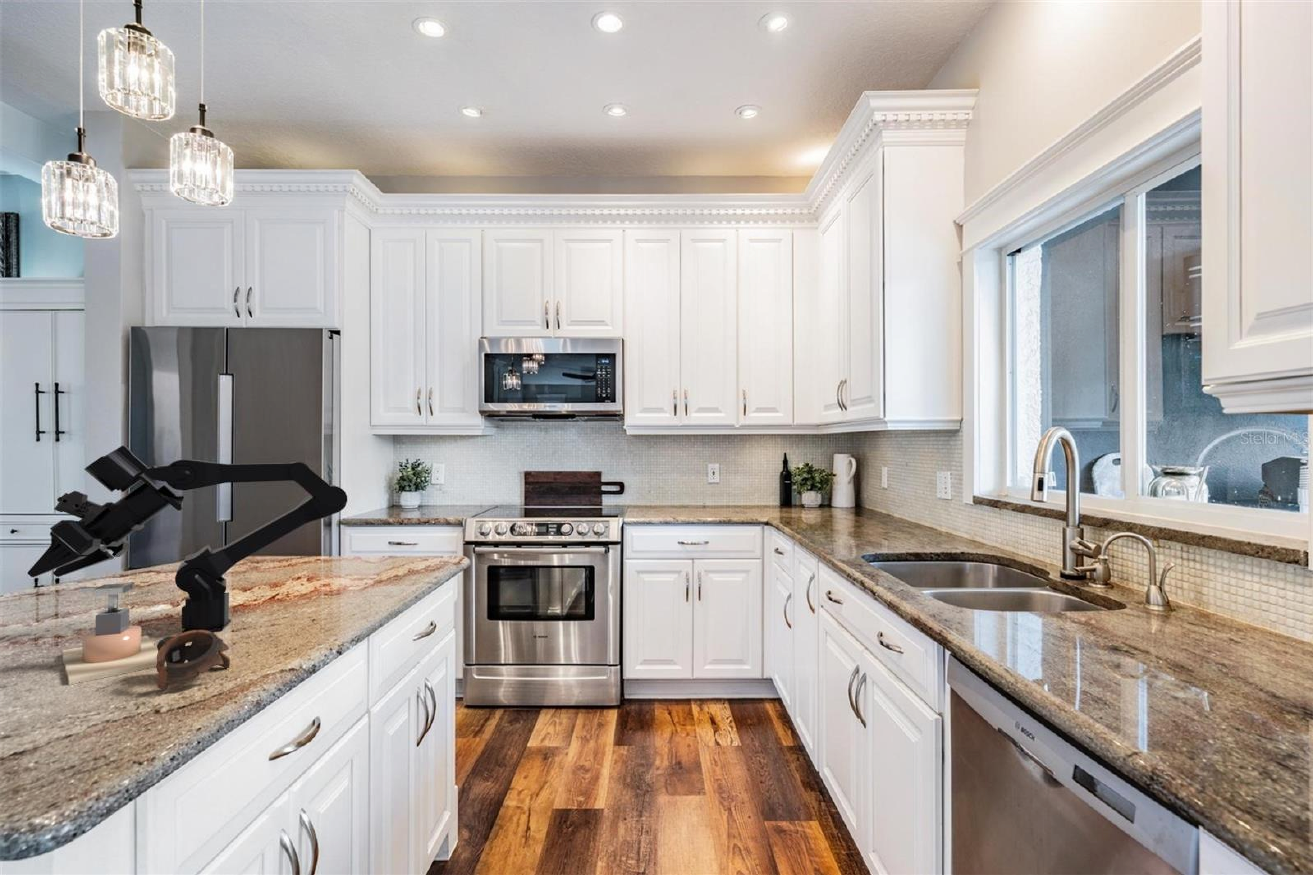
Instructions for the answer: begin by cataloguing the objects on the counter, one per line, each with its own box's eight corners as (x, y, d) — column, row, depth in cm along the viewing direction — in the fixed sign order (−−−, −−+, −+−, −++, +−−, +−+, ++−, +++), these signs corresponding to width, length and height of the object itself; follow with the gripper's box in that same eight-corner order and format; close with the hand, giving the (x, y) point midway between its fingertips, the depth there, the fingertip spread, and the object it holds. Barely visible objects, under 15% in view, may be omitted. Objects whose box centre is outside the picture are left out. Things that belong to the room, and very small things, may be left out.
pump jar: (148, 645, 104) (149, 604, 104) (130, 659, 97) (130, 615, 97) (94, 651, 101) (95, 608, 101) (72, 665, 94) (73, 620, 94)
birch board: (61, 655, 101) (61, 650, 101) (147, 640, 109) (147, 635, 109) (69, 684, 89) (69, 679, 89) (164, 665, 97) (164, 660, 97)
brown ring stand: (250, 670, 96) (240, 634, 92) (194, 720, 88) (180, 682, 84) (190, 646, 98) (177, 609, 95) (130, 692, 90) (113, 654, 86)
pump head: (132, 607, 102) (132, 582, 102) (122, 613, 98) (122, 587, 98) (85, 611, 99) (85, 585, 99) (73, 617, 96) (73, 590, 96)
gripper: (116, 485, 117) (30, 544, 110) (76, 471, 101) (-29, 539, 94) (162, 526, 119) (80, 586, 112) (129, 518, 102) (31, 589, 96)
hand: (42, 575), depth 103 cm, fingers open, 9 cm apart
